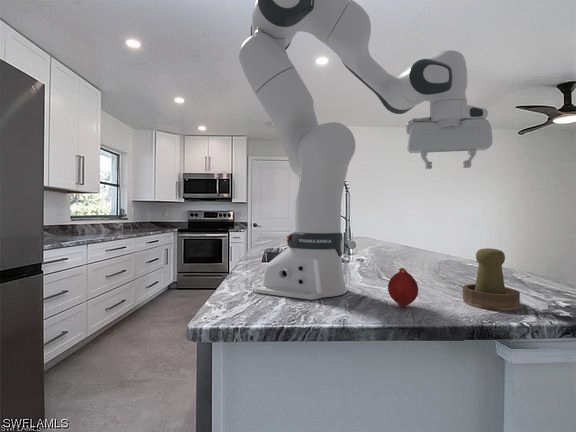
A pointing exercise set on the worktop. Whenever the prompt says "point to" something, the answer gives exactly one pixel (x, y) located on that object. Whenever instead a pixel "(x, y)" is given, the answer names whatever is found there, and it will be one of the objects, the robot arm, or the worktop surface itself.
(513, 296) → the spice holder
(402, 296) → the onion
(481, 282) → the cork
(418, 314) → the worktop surface
